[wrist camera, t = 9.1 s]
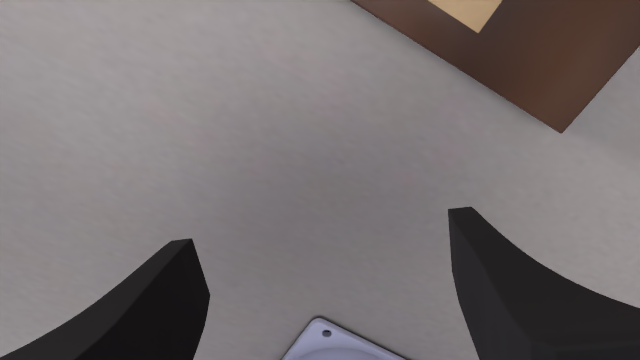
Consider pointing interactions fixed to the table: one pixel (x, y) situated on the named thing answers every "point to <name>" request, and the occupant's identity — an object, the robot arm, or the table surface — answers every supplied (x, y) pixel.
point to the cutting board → (525, 45)
